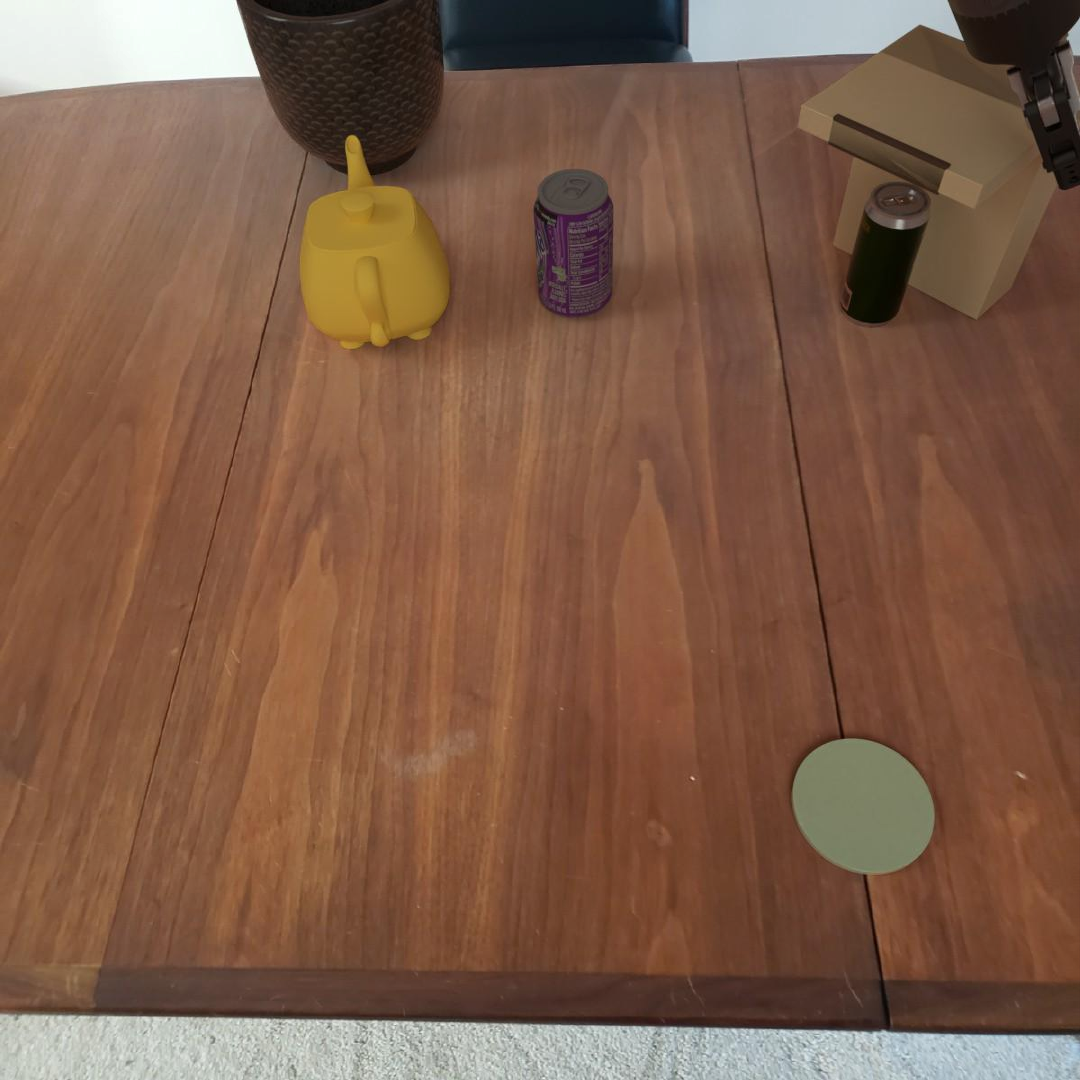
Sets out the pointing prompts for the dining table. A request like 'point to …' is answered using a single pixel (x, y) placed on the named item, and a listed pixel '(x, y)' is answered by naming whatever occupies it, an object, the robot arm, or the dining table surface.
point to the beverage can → (574, 242)
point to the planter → (350, 73)
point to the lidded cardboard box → (940, 161)
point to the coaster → (862, 806)
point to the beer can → (884, 253)
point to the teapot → (371, 262)
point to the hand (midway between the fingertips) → (1067, 141)
